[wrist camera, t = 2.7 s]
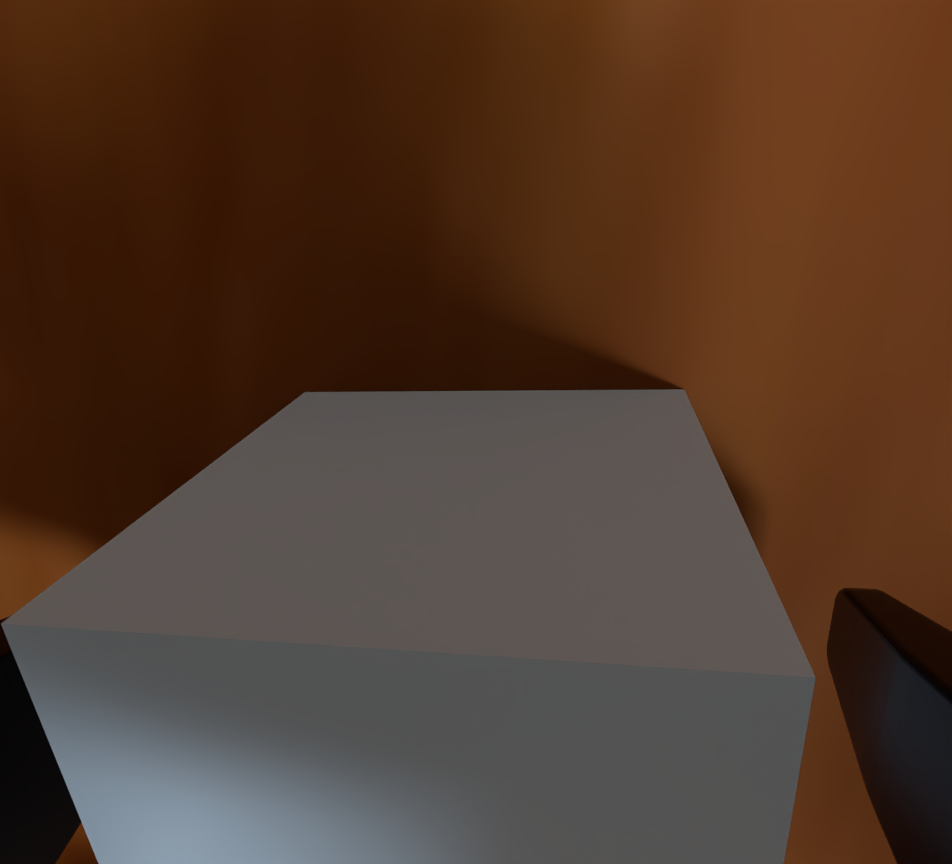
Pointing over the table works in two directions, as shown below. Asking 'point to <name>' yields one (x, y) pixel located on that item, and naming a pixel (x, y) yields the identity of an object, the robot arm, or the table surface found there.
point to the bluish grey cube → (431, 646)
